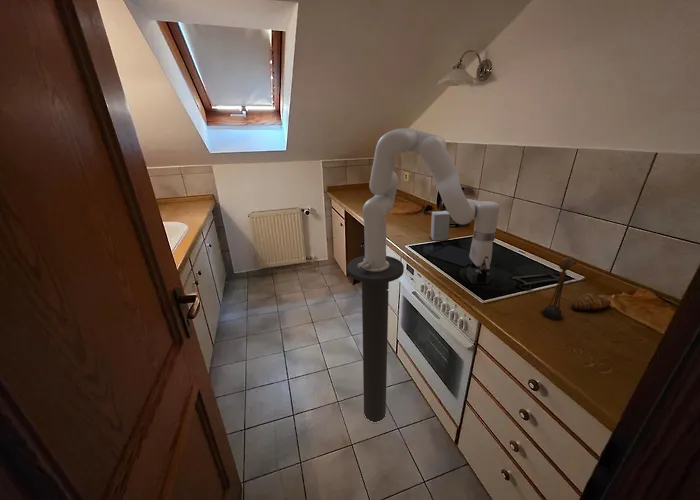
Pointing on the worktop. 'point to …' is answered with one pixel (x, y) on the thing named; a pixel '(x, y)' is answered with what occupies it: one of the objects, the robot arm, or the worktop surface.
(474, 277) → the tape measure
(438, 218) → the cosmetic box
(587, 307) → the croissant
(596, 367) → the worktop surface
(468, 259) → the mat
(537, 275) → the hacksaw
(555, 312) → the wooden tabletop sculpture
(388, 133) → the robot arm
